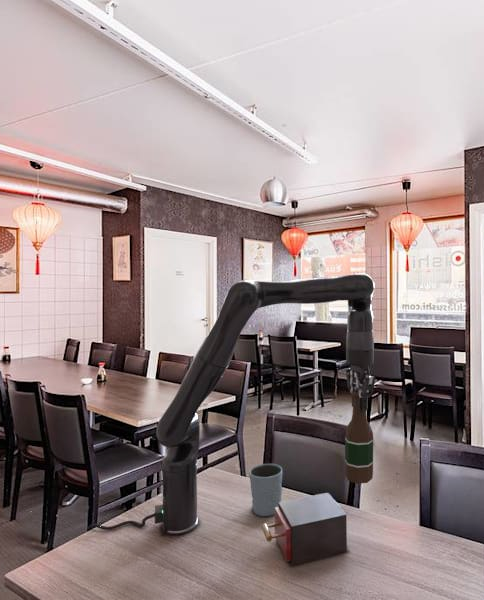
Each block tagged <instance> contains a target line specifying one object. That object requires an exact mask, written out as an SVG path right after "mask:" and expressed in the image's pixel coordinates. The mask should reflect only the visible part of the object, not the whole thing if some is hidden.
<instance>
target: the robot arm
mask: <svg viewBox="0 0 484 600" xmlns="http://www.w3.org/2000/svg"><path fill="white" fill-rule="evenodd" d="M374 291H375V282H374V280H373V279H372V277H371V276H369V275H368V274H366V273H354V274H353V273H352V274H347V275H340V276H321V277H310V278H309V277H308V278H303V279H295V280H293V279H292V280H287V281H286V280H285V281H284V280H283V281H263V280H262V281H261V280H254V279H253V280H252V279H247V278H246V279H242V280H238V281H236V282H234V283H233V284H232V285H230V287H229V289H228V290H227V292H226V295H225V297H224V300H223V303H222V305H221V308H220V310H219V313H218V316H217V317H216V320H215V322H214V324H213V325H212V327H211V329H210V330H209V331H208V333H207V334H206V336H205V338H204V340H203V342H202V343H201V345H200V346H199V348H198V349H197V352H196V353H195V355H194V358H193V359H192V362H191V364H190V366H189V368H188V370H187V372H186V374H185V376H184V378H183V379H182V381H181V384H180V386H179V388H178V390H177V392H176V394H175V396H174V398H173V399H172V401H171V403H169V405H168V407H167V409H166V410H165V411H164V413H163V414H162V416H161V417H160V418H159V420H158V423H157V425H156V429H155V430H156V432H155V433H156V438H157V441H158V442H159V444H160V445H161V446H163V447H165V448H167V450H166V452H165V454H164V456H163V457H162V460H161V461H162V463H161V466H162V504H157V505H155V506H154V513H152V514H149V515H146V516H145V517H144V518H143V519H142V520H141V523H140V522H138V521H136V520H126V521H122V522H120V523H118V524H114V525H111V526H105V525H102V524H99V523H92V524H90V525H88V526H87V528H86V530H87V531H88V530H91V529H92V528H98V529H100V530H104V531H112V530H114V529H117V528H120V527H123V526H125V525H134V526H136V527H139V528H143V527H144V526H145V525H146V521H147V520H149V519H152V518H154V524H155V525H157V524H162V535H182V534H185V533H188V532H191V531H192V530H194V529H195V528H196V527H197V526H198V523H199V520H198V519H199V518H198V469H197V465H198V464H197V463H198V462H197V459H198V455H199V451H200V435H201V434H200V429H201V428H200V427H201V425H200V419H199V416H198V414H197V412H198V410H199V408H200V407H201V405H202V404H203V403H204V402H205V401H206V399H207V398H208V397H209V396H210V395H211V393H212V392H213V391H214V390H215V388H216V387H217V386H218V385H219V383H220V382H221V380H222V378H223V377H224V374H225V372H226V371H227V369H228V368H229V365H230V363H231V360H232V359H233V356H234V353H235V350H236V347H237V343H238V340H239V337H240V335H241V333H242V332H243V330H244V328H245V327H246V325H247V323H248V322H249V320H250V319H251V317H252V316H253V315H254V313H255V312H256V311H257V310H259V309H260V308H265V307H269V306H274V305H282V304H283V305H284V304H302V305H303V304H304V305H310V304H311V305H312V304H314V305H315V304H324V303H325V304H326V303H333V302H337V301H338V302H339V301H347V318H346V319H347V322H346V325H347V326H346V328H347V329H346V330H347V331H346V339H345V341H346V342H345V345H346V346H345V362H346V364H347V365H349V366H350V367H349V368H345V376H346V383H347V390H349V391H350V394H351V407H352V408H353V399H354V396H353V392H354V391H357V390H358V391H359V411H360V412H364V411H366V412H367V411H368V398H371V397H373V393H374V387H375V383H376V377H375V376H371V372H370V371H371V370H370V366H372V365H374V361H375V359H374V358H375V357H374V356H375V351H374V349H375V338H374V337H375V336H374V314H373V311H372V297H373V293H374ZM101 525H102V526H101ZM100 526H101V527H100Z"/></svg>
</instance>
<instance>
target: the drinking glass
mask: <svg viewBox="0 0 484 600" xmlns="http://www.w3.org/2000/svg"><path fill="white" fill-rule="evenodd" d="M249 481H250V490H251V491H250V492H251V498H252V500H251V501H252V502H251V503H252V510H253V513H254V514H255V515H257V516H260V517H270V516H275V507H278V502H282V494H283V493H282V492H283V486H282V483H283V468H282V466H280V465H279V464H276V463H261V464H257V465H255V466H252V468H251V469H249Z"/></svg>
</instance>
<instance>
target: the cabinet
mask: <svg viewBox="0 0 484 600" xmlns="http://www.w3.org/2000/svg"><path fill="white" fill-rule="evenodd" d="M278 507H279V508H280V510H281V511H282V513H283V515H284V516H285V518H286V520H287V522H288V524H289V525H290V527H291V561H289V563H290V565H291V566H296V565H299V564H303V563H307V562H308V563H309V562H311V561H316V560H320V559H323V558H324V559H325V558H328V557H331V556H335V555H339V554H343V553H347V551H348V545H347V544H348V543H347V538H348V535H347V533H348V532H347V527H348V525H347V513H346V512H345V511H344V510H343V508H342V507H341V505H339V504H338V502H337V501H336V500H335V499H334V497H333V496H332V495H331V494H330V493H329V492H324V493H317V494H314V495H308V496H302V497H298V498H292V499H287V500H283V501H282V500H281V502H278Z"/></svg>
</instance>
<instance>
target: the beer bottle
mask: <svg viewBox="0 0 484 600" xmlns="http://www.w3.org/2000/svg"><path fill="white" fill-rule="evenodd" d="M353 396H354V399H353V407H352V414H351V419H350V421H349V423H348V424H347V426H346V429H345V434H344V435H345V436H344V475H345V478H346V479H347V481H348V482H350V483H353V484H358V485H361V484H368V483H369V482H370V481H371V480H373V477H374V432H373V429H372V426H371V425H370V423H369V421H368V418H367V411H364V412H360V411H359V391H358V390H357V391H354V392H353Z"/></svg>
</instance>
